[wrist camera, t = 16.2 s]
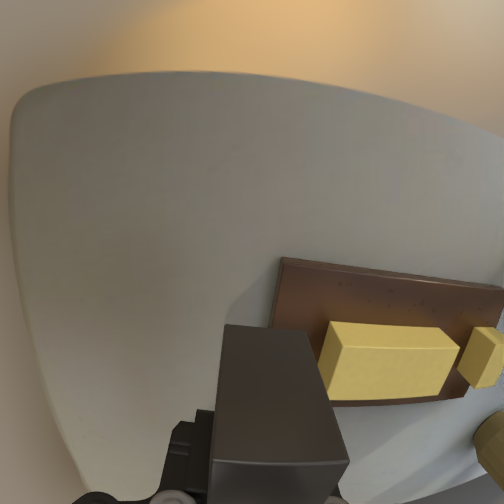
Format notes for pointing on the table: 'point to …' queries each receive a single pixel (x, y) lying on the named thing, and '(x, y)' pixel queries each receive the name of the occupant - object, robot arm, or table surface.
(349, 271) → the board
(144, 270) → the table surface
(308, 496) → the knife
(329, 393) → the butter
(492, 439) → the squeeze bottle
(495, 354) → the butter slice
